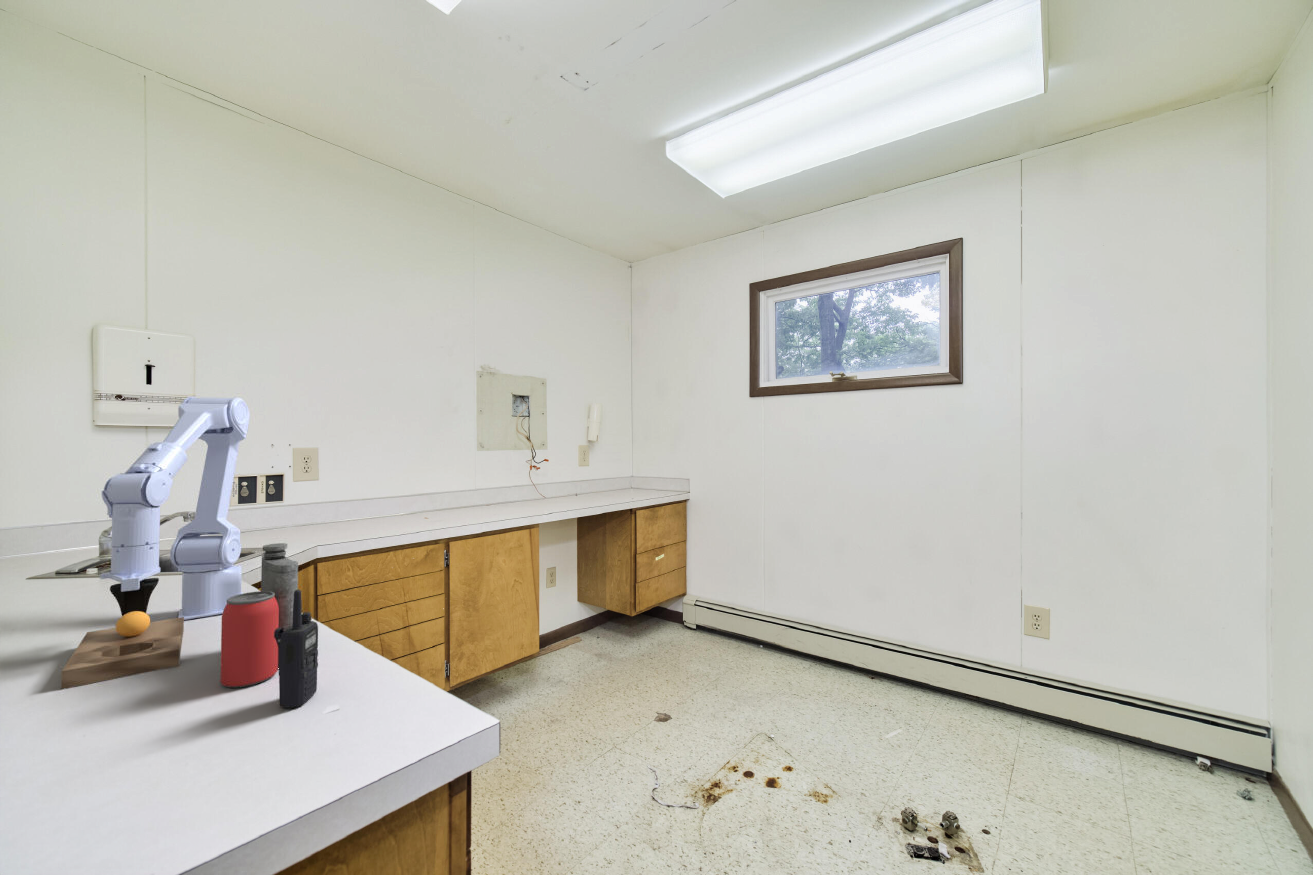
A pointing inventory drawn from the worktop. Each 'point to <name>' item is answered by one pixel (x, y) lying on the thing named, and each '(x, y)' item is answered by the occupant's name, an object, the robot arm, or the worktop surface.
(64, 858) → the worktop surface
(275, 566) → the flask
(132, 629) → the ball
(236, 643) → the beer can
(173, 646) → the hole board
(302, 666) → the two-way radio
